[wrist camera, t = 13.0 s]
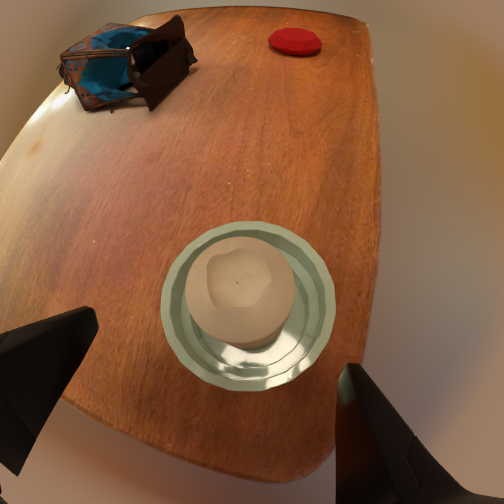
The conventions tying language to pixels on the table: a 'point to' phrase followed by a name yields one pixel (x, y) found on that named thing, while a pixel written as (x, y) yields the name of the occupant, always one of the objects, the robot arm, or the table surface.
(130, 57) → the lantern
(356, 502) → the robot arm
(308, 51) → the gemstone
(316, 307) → the bowl
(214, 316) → the candle
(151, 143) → the table surface
